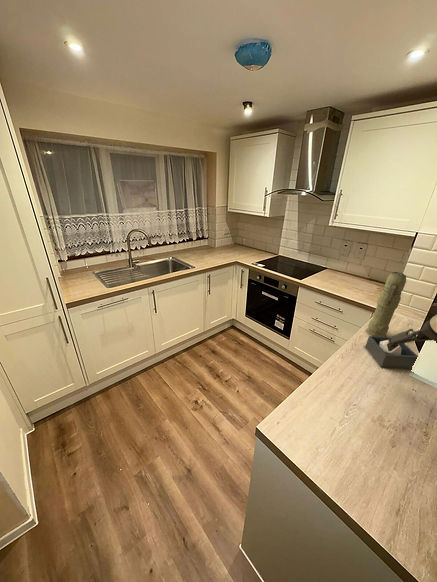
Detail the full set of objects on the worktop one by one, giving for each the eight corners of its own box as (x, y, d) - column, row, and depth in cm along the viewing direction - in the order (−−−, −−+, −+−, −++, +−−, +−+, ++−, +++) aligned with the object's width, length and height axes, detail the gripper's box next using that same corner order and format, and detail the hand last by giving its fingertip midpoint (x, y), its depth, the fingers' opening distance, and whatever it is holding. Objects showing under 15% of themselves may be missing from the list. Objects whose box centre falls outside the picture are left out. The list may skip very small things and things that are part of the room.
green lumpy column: (385, 330, 131) (409, 272, 116) (385, 341, 122) (411, 279, 107) (367, 325, 135) (388, 268, 120) (366, 335, 126) (388, 275, 111)
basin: (393, 348, 117) (398, 337, 114) (413, 369, 104) (419, 357, 101) (364, 346, 117) (369, 335, 114) (380, 367, 104) (385, 355, 102)
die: (383, 349, 116) (376, 335, 113) (406, 349, 109) (398, 334, 106) (381, 362, 111) (373, 348, 108) (404, 364, 104) (396, 349, 101)
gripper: (403, 335, 76) (375, 356, 94) (493, 340, 72) (446, 360, 90) (396, 315, 80) (371, 338, 98) (481, 318, 76) (439, 341, 94)
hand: (407, 348), depth 94 cm, fingers open, 13 cm apart
